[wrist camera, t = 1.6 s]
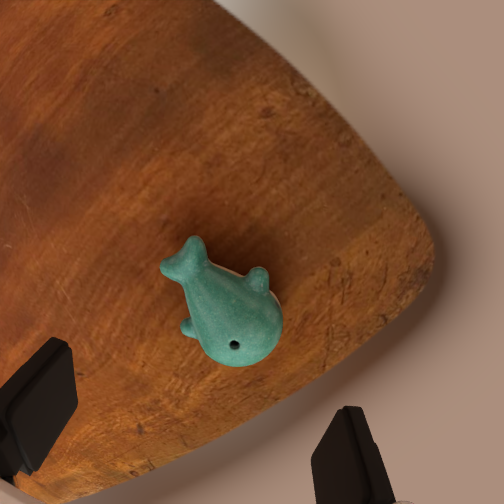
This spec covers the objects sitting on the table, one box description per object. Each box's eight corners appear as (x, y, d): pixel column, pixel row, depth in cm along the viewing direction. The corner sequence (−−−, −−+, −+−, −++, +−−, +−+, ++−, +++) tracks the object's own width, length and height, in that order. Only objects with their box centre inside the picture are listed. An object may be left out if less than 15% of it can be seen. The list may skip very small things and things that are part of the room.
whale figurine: (225, 359, 19) (218, 400, 16) (145, 270, 18) (119, 299, 14) (304, 311, 18) (313, 348, 14) (224, 208, 16) (213, 224, 13)
